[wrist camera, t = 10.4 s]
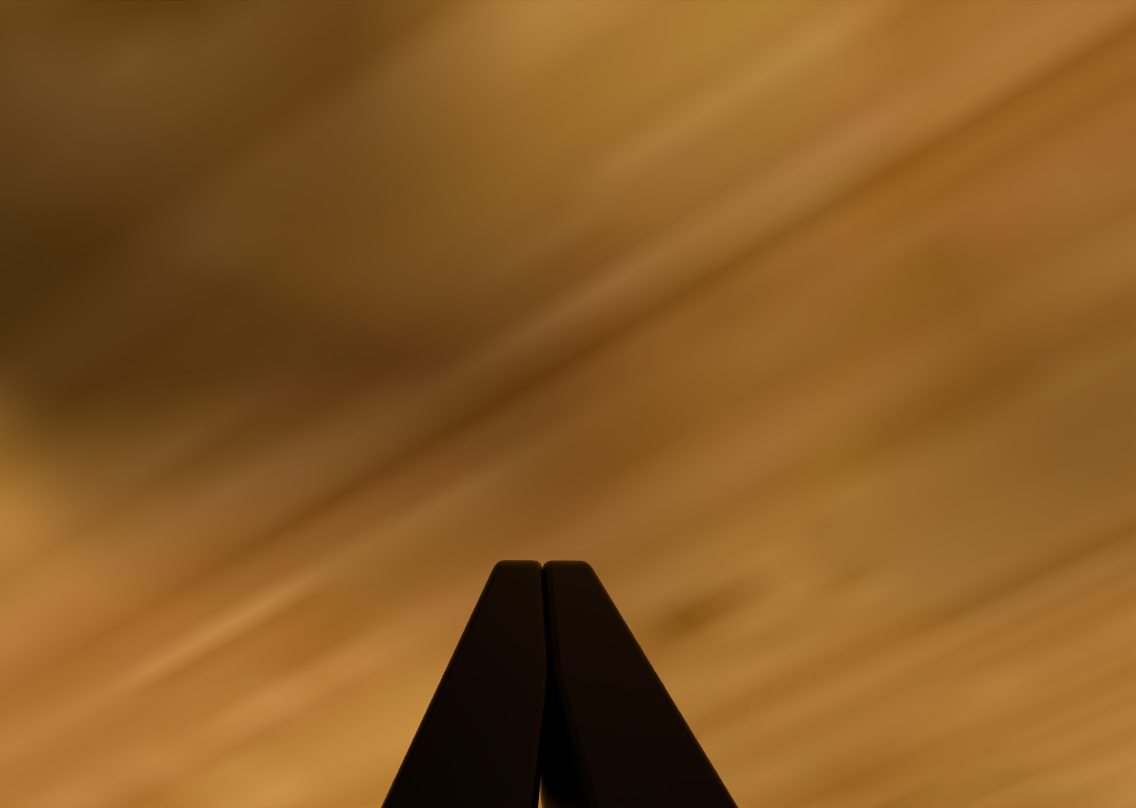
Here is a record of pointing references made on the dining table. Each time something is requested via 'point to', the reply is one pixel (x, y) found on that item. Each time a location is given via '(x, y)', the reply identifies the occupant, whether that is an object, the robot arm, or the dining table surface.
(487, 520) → the dining table surface
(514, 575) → the robot arm
